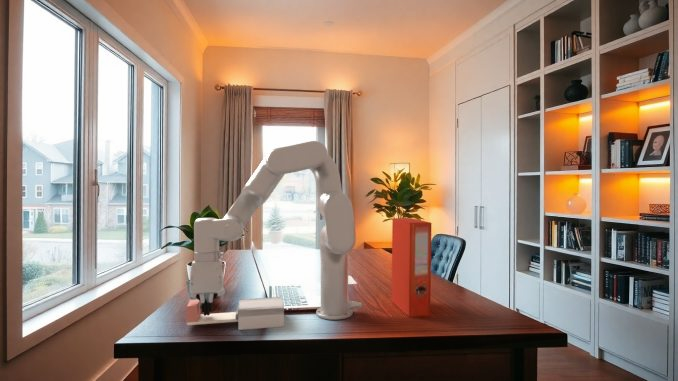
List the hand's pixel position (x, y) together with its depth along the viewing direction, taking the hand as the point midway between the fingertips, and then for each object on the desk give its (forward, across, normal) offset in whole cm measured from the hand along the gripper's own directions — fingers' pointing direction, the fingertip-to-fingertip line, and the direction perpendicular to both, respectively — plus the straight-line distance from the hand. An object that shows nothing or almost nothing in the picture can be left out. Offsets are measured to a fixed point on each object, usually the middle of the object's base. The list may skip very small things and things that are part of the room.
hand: (207, 314), depth 125 cm
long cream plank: (+2, -7, 0) cm, 8 cm away
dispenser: (+4, -17, 0) cm, 17 cm away
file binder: (+4, -70, -2) cm, 70 cm away
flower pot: (+4, +4, -24) cm, 25 cm away
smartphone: (+4, -57, -47) cm, 74 cm away
